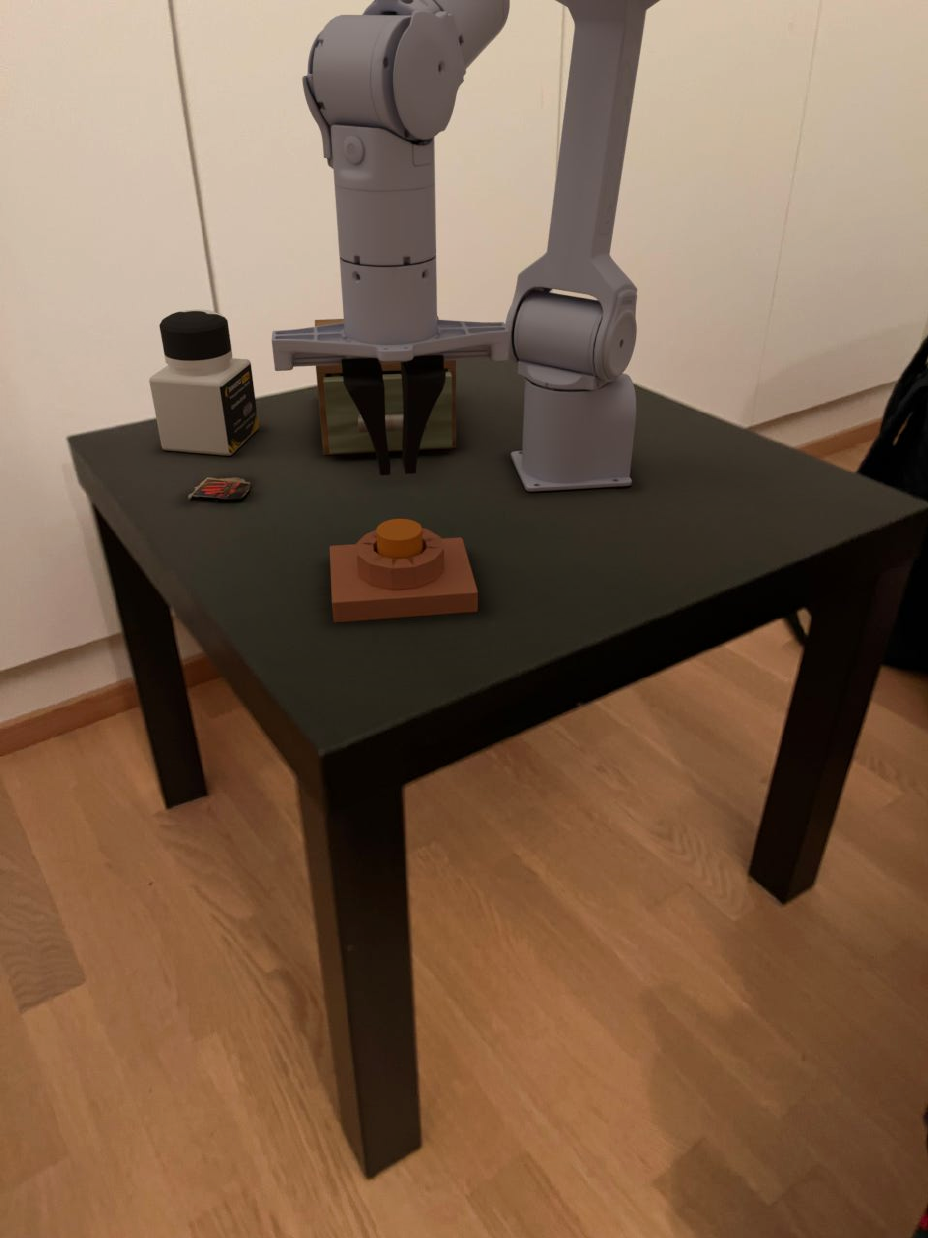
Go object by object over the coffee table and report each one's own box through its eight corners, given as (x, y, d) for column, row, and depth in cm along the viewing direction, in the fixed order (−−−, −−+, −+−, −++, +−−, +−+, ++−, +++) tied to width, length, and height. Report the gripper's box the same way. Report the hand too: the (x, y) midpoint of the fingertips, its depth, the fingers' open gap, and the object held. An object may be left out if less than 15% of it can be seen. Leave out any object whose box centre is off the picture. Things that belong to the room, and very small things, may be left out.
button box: (462, 556, 72) (462, 515, 70) (477, 612, 65) (478, 569, 63) (331, 565, 70) (327, 523, 69) (333, 623, 64) (329, 579, 62)
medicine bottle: (231, 457, 87) (212, 328, 81) (160, 451, 88) (136, 323, 82) (260, 428, 93) (245, 306, 86) (193, 423, 94) (173, 302, 88)
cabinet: (456, 448, 89) (456, 359, 84) (323, 455, 88) (315, 365, 83) (438, 395, 101) (437, 314, 96) (321, 400, 100) (314, 319, 95)
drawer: (459, 467, 83) (459, 393, 79) (330, 474, 82) (324, 400, 78) (436, 396, 98) (435, 331, 94) (327, 401, 97) (321, 336, 93)
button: (420, 538, 68) (419, 516, 67) (424, 560, 65) (424, 538, 64) (376, 541, 67) (374, 519, 66) (378, 563, 65) (377, 541, 64)
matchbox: (248, 501, 79) (247, 496, 79) (186, 504, 79) (185, 498, 78) (252, 478, 83) (252, 473, 83) (194, 480, 83) (193, 475, 82)
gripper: (260, 275, 51) (286, 500, 58) (521, 267, 53) (513, 487, 60) (265, 247, 57) (288, 455, 64) (500, 241, 58) (495, 444, 66)
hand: (396, 468), depth 63 cm, fingers closed
